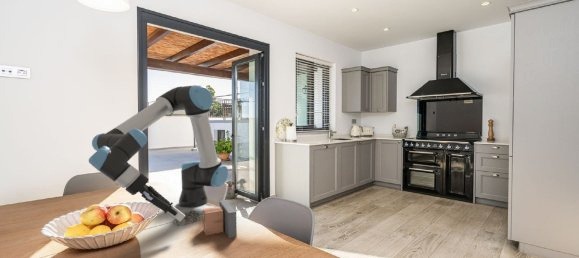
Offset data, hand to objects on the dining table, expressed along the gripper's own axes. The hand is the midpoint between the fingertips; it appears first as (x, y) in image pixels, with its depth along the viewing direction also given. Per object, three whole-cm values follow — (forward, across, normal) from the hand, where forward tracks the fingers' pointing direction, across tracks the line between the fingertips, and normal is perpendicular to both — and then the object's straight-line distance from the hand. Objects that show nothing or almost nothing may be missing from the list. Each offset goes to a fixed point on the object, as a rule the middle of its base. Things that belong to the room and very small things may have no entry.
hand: (182, 218), depth 107 cm
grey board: (+18, 0, +7) cm, 19 cm away
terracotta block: (+14, -1, +3) cm, 14 cm away
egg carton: (+8, -18, -3) cm, 20 cm away
